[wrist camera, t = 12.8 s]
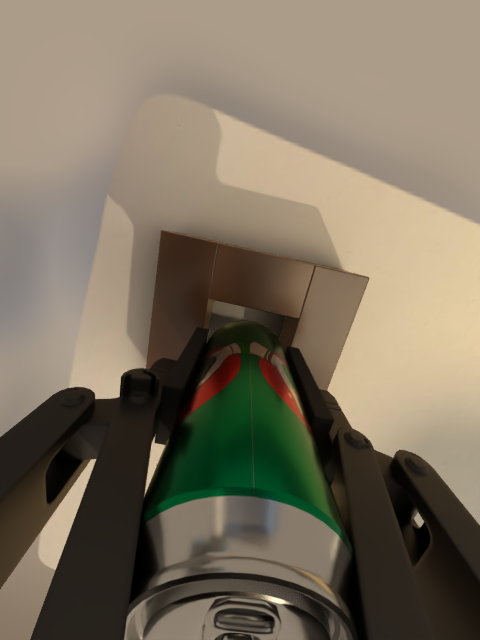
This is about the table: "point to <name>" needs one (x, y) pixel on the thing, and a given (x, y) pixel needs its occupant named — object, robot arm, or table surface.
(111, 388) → the table surface
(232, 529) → the soda can
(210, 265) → the holder
